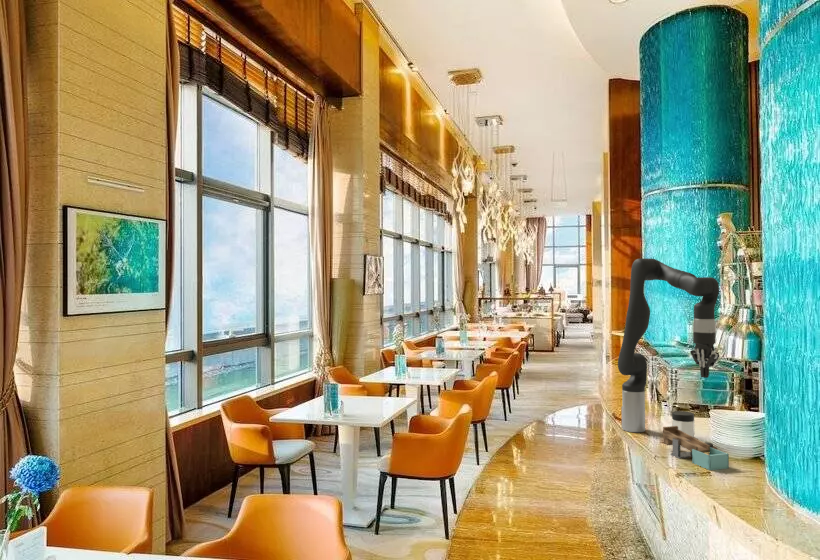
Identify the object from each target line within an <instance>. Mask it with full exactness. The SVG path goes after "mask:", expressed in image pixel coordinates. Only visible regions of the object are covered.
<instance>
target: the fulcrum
mask: <svg viewBox="0 0 820 560" xmlns="http://www.w3.org/2000/svg"><path fill="white" fill-rule="evenodd" d="M694 438H696V439H698V440H699V438H698V437H694ZM670 456H672V457H674V456H675V458H677V459H679V460H682V459H690V458H689V457H692V452H691V451H690V450H689V451H683V452H681V445H680V440H678V439H675V438H673V445H672V453H670ZM681 458H682V459H681Z"/></svg>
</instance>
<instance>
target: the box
mask: <svg viewBox="0 0 820 560" xmlns="http://www.w3.org/2000/svg"><path fill="white" fill-rule="evenodd" d="M707 454H709V455H707ZM729 455H730V454H729V453H727V452H724V451H721V450H719V449H717V450H716V449H714V448H711V447H710V452H707V453H702V452H699V451H697V450H694V449H692V458H691V459H692V460H691V463H692V464H693V463H694V464H693V465H696V464H697V465H696V466H698V465H699V467H700V466H701V467H700V468H704V469H705V468H706V470H708V471H715V470H717V471H718V470H726V469H729V468H730V467H729V466H730V465H729V463H730V462H729V460H730V459H729Z"/></svg>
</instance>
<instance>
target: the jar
mask: <svg viewBox="0 0 820 560" xmlns="http://www.w3.org/2000/svg"><path fill="white" fill-rule="evenodd" d="M671 426H678V429H679V430H681V431H683V432H684V433H686V434H688V435H690V436H692V437H694V435H696V431H695V428H696V427H695V426H696V425H695V413H693V412H691V411H686V410H684V411H683V410H675V411H672V412H671Z"/></svg>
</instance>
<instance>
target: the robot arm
mask: <svg viewBox="0 0 820 560" xmlns="http://www.w3.org/2000/svg"><path fill="white" fill-rule="evenodd" d="M646 281H663V282H667V284H669V285H670V286H671V287H673V288H676V289H679V290H682V291H684V292H686V293H688V295H691V296H694V297H701V298H702V299H701V300H700V302H697V303H695V304H694V305H693V323H692V333H693V334H692V335H693V336H692V337H693V338H692V340H693V344H695V345H694V349H692V350H690V355H691V356H692V359H693V361H694V362H695V365H697V366H699V368H700V377H701V378H704V379H706V378H707V379H708V378H709V376H710V368H711V367H714V366H715V364H716V363H717V361H718V359H719V357H720V354H719V353H716V352H715V346H714V345H715V344H716V340H717V339H716V338H717V337H716V335H717V334H716V333H717V332H716V329H717V327H716V320H715V319H716V318H715V315H716V314H715V313H716V312H715V310H716V309H715V307H716V304H717V301H718V297H719V294H720V285H719V282H718V280H717V279H716V278H715V277H710V276H707V277H705V276H703V277H701V276H700V277H699V276H698V277H697V276H696V275H695V274H693V273H692V272H688V271H685V270H681V269H677V268H674V267H671V266H670V265H667V264H665V263H663V262H662V261H659V260H658V259H655V258H637V259H635V260H634V261H633V262H632V265H631V270H630V288H629V289H630V290H629V298H628V299H629V300H628V306H627V311H626V318H625V327H624V332H623V338H622V342H621V347H620V350H619V354H618V360H617V369H618V372H619V373H620V374H621V375H622V376H630V377H629V378H628V379H627V380H626V381H624V382H623V383H622V384H621V386H622V387H621V396H622V399H621V400H622V403H621V404H622V405H621V407H620V408H621V429H622V430H623V431H626V432H628V433H629V432H630V433H643V432H645V431H646V393H645V391H646V390H645V389H646V385H647V379H648V378H647V377H648V374H647V373H648V364H647V359H646V356H644V354H642V353H639V352H638V353H637V352H636V353H635V351H636V348H637V345H638V343H639V342H640V340H641V338H642V337H643V336H644V335H645V334H646V332H647V330H648V328H649V325H650V324H649V323H650V318H651V309H650V305H649V303H648V301H647V299H646V295H645V291H644V290H645V282H646Z"/></svg>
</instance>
